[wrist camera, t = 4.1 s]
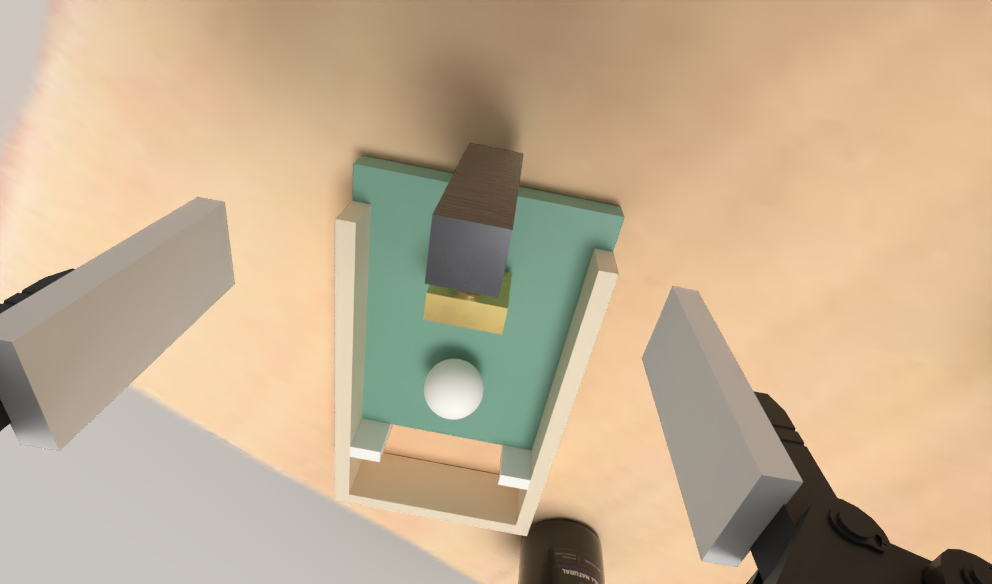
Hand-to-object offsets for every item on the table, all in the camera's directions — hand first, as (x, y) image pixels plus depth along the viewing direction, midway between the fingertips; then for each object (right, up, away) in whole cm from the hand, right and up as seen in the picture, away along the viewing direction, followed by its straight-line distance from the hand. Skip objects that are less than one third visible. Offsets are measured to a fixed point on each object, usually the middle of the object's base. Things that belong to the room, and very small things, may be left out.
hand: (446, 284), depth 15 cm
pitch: (-1, -4, +18) cm, 18 cm away
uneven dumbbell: (+1, +3, +11) cm, 11 cm away
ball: (-1, -6, +15) cm, 16 cm away
